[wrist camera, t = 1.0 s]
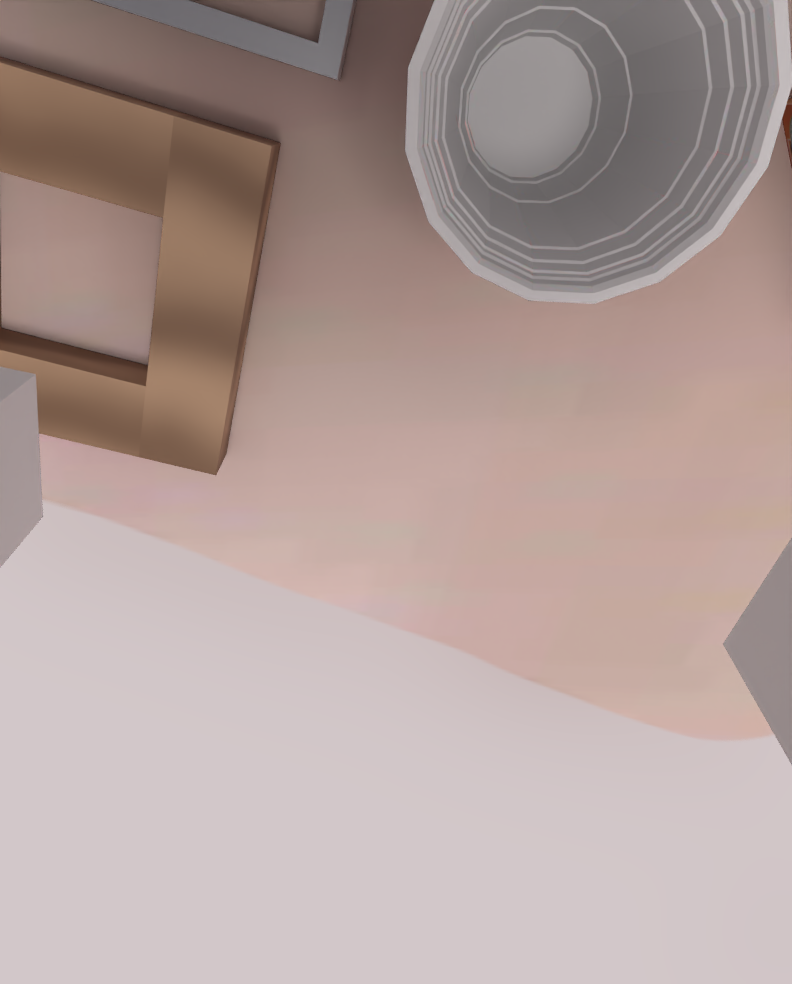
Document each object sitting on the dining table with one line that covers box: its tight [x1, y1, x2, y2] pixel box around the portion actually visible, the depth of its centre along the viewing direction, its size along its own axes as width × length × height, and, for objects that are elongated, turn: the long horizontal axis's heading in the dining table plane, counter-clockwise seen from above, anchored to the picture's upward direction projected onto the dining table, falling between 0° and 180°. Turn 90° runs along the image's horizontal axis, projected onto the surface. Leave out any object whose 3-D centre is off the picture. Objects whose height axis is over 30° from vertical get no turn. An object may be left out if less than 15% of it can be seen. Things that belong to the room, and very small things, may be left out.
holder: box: [0, 57, 280, 475], centre depth 32 cm, size 16×16×2 cm
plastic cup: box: [405, 0, 792, 304], centre depth 24 cm, size 11×11×12 cm
